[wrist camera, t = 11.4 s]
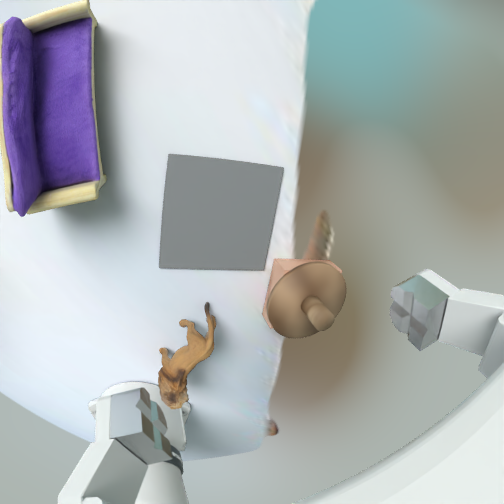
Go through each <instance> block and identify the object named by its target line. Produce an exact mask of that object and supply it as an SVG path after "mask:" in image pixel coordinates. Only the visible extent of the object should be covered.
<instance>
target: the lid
mask: <svg viewBox="0 0 504 504" xmlns="http://www.w3.org/2000/svg"><path fill="white" fill-rule="evenodd" d="M345 297H346V283H345V280H344V278H343V276H342V274H341V273H340V272H339V271H338V270H337V269H335V268H334V267H333V266H332V265H330V264H327V263H324V262H308V263H304V264H301V265H299V266H297V267H295V268H293V269H292V270H290V271H288V272H287V273H286V274H285V275H284V276H283V277H281V278H280V279H279V281H278V282H277V283H276V284H275V286H274V287H273V289H272V291H271V293H270V295H269V298H268V301H267V308H266V309H267V317H268V320H269V322H270V323H271V325H272V327H273V328H274V330H275V331H276V332H278V333H279V334H280V335H282V336H285V337H288V338H303V337H307V336H310V335H313V334H315V333H317V332H319V331H324V330H326V329H328V328H329V327H331V325H332V324H333V322H334V319H335V317H336V316H337V315H338V313H339V312H340V310H341V308H342V306H343V304H344V301H345Z"/></svg>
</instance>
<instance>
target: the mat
mask: <svg viewBox="0 0 504 504" xmlns="http://www.w3.org/2000/svg"><path fill="white" fill-rule="evenodd" d="M283 169H284V168H283V167H277V166H270V165H264V164H257V163H250V162H242V161H234V160H226V159H218V158H208V157H199V156H188V155H177V154H169V155H168V163H167V172H166V181H165V190H164V201H163V212H162V225H161V240H160V257H159V268H182V269H223V270H264V266H265V261H266V256H267V251H268V246H269V241H270V236H271V231H272V226H273V221H274V216H275V211H276V206H277V201H278V195H279V190H280V185H281V180H282V175H283Z"/></svg>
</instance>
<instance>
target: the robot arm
mask: <svg viewBox="0 0 504 504" xmlns="http://www.w3.org/2000/svg"><path fill="white" fill-rule="evenodd" d="M391 298H392V299H393V300H394V301H393V303H392V305H391V307H390V317H391V320H392V323H393V324H394V326H395V327H396V328H397V329H398V330H399V331H400V332H403V333H406V334H408V340H409V341H410V342H411V343H412V344H413V345H414V346H415V347H416V348H417V349H418V350H419V351H421V350H423V349H424V348H426V347H428V346H429V345H431V344H432V343H434V342H435V341H437V340H438V341H440V342H443V343H446V344H448V345H451V346H454V347H457V348H460V349H463V350H466V351H469V352H472V353H475V354H478V355H481V356H483V358H482V360H481V362H480V364H479V371H480V372H481V373H482V374H483V375H484V376H485V377H486V378H487V380H486V381H485V382H484V383H483V384H482V385H481V386H479V387H478V388H477V389H476V390H475V391H474V392H473V393H472V394H471V395H470V396H469V397H467V398H466V399H465V400H464V401H463V402H462V403H461V404H460V405H458V406H457V407H456V408H455V409H453V410H452V411H451V412H450V413H449V414H447V415H446V416H445V417H444V418H442V419H441V420H440V421H438V422H437V423H436V424H435V425H433V426H432V427H431V428H429V429H428V430H427V431H425V432H424V433H422V434H421V435H420V436H418V437H417V438H415V439H414V440H412V441H411V442H409V443H408V444H407V445H405V446H403V447H402V448H401V449H399V450H397V451H396V452H394V453H393V454H391V455H389V456H388V457H386V458H384V459H383V460H381V461H379V462H378V463H376V464H374V465H373V466H371V467H369V468H367V469H365V470H363V471H362V472H360V473H358V474H356V475H354V476H352V477H350V478H348V479H346V480H344V481H342V482H340V483H338V484H336V485H334V486H332V487H330V488H327V489H325V490H323V491H321V492H319V493H316V494H314V495H311V496H309V497H307V498H304V499H302V500H299V501H297V502H294V503H291V504H504V295H500V294H494V293H487V292H482V291H476V290H470V289H464V288H462V289H461V290H459V289H458V288H456V287H455V286H454V285H452V284H451V283H449V282H448V281H446V280H445V279H443V278H441V277H440V276H439V275H437V274H436V273H434V272H433V271H431V270H429V269H425V270H423V271H421V272H419V273H417V274H416V275H414V276H412V277H410V278H408V279H407V280H405V281H403V282H401V283H399V284H398V285H396V286H394V287H393V288H392V290H391ZM159 392H160V389H159V386H157V385H153V384H149V383H144V382H125V383H120V384H116V385H114V386H111V387H109V388H108V389H106V390H105V391H104V392H103V393H102V395H101V396H100V397H99V398H97V399H95V400H92V401H90V402H89V403H88V408H89V410H90V412H91V414H92V415H93V417H94V418H95V420H96V424H95V442H91V443H90V445H89V447H88V448H87V450H86V451H85V453H84V455H83V456H82V458H81V459H80V461H79V463H78V464H77V466H76V467H75V469H74V471H73V472H72V474H71V476H70V477H69V479H68V481H67V483H66V484H65V486H64V487H63V489H62V491H61V492H60V494H59V496H58V504H189V502H188V498H187V495H186V491H185V487H184V483H183V479H182V474H183V462H182V459H181V456H180V452H179V451H184V450H185V444H186V435H185V429H184V425H185V423H186V420H187V418H188V415H189V412H190V404H189V403H188V402H185V403H183V405H182V407H181V408H179V409H172V410H171V409H170V407H168V406H167V405H165V403H164V402H163V401H162V400H161V396H160V393H159Z"/></svg>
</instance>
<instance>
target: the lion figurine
mask: <svg viewBox="0 0 504 504" xmlns="http://www.w3.org/2000/svg"><path fill="white" fill-rule="evenodd" d="M205 313H206V316H207V318H206V321H207V323H208V328H209V330H208V332H207V333H206V335H205V337H203V336H202V335H201V334H200V333H199V332H198V331H196V330H195V328H194V323H193V322H190V321H188V320H186V319H183V320H181V321H180V322H179V324H180V326H181V327H186V326H187V327H188V331H187V341H188V345H187V346H184V347H181V348H180V349H178V350H177V351H176V352H175V354H174V355H173V357H172V358H171V359H170V358H169V357H168V350H167V349H166V348H161V349H160V350H159V351H160V353H161V354H162V365H163V367H162V368H161V370H160V371H159V373H158V374H159V378H158V383H159V389H160V392H159V393H160V396H161V400H162V401H163V402H164V403H165V405H167V406H168V407H170V409H171V410H172V409H179V408H181V407H182V405H183V403H185V402H187V401H188V400H189V398H188V394H187V387H186V385H187V379H186V378H187V375H188V373H189V372H190V371H191V370H192V369H193V368H194V367H195V366H196V364H197V363H199V362H201V361H203V360H205V359H207V358H208V357H209V356H210V355H211V353H212V352H213V349H214V329H215V327H216V321H215V317H214V316H212V315H210V313H209V303H208V302H206V304H205Z"/></svg>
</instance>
